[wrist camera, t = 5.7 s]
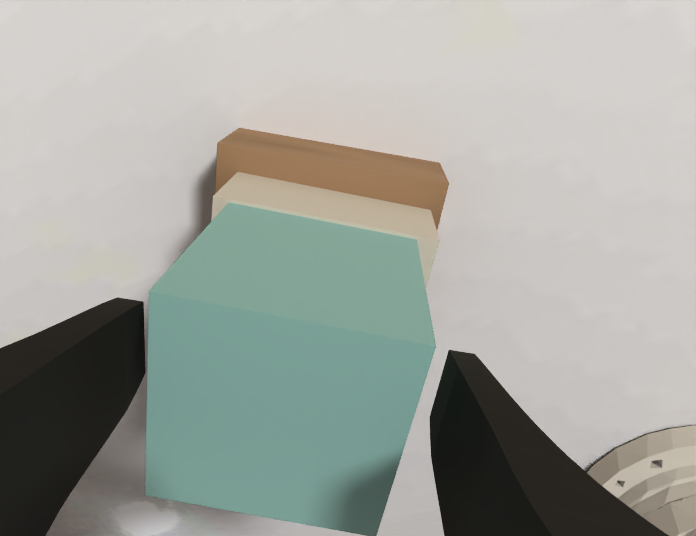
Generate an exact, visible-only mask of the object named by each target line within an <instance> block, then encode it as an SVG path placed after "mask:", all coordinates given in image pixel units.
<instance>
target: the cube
mask: <svg viewBox="0 0 696 536" xmlns="http://www.w3.org/2000/svg"><path fill="white" fill-rule="evenodd" d="M435 348H436V344H435V338H434V332H433V327H432V321H431V316H430V310H429V305H428V299H427V294H426V288H425V282H424V277H423V271H422V266H421V260H420V255H419V249H418V244H417V239H412V238H407V237H402V236H397V235H392V234H387V233H382V232H377V231H372V230H367V229H361V228H356V227H351V226H346V225H341V224H336V223H331V222H326V221H321V220H316V219H311V218H306V217H301V216H296V215H291V214H286V213H281V212H275V211H270V210H265V209H260V208H255V207H250V206H245V205H240V204H235V203H230V202H228V204H227V205H226V206H225V207H224V208H223V209H222V210H221V211H220V212H219V214H218V215H217V216H216V217H215V218H214V219H213V220H212V221H211V223H210V224H209V225H208V226H207V227H206V228H205V229H204V230H203V231H202V233H201V234H200V235H199V236H198V237H197V238H196V239H195V240H194V241H193V243H192V244H191V245H190V246H189V247H188V248H187V249H186V250H185V252H184V253H183V254H182V255H181V256H180V257H179V258H178V259H177V260H176V262H175V263H174V264H173V265H172V266H171V267H170V268H169V269H168V271H167V272H166V273H165V274H164V275H163V276H162V277H161V278H160V279H159V281H158V282H157V283H156V284H155V285H154V286H153V287H152V288H151V290H150V291H149V314H148V366H147V418H146V470H145V496H151V497H156V498H162V499H167V500H173V501H178V502H184V503H189V504H195V505H201V506H206V507H212V508H217V509H223V510H228V511H234V512H239V513H245V514H250V515H256V516H262V517H267V518H273V519H278V520H284V521H289V522H295V523H300V524H306V525H311V526H317V527H323V528H328V529H334V530H339V531H345V532H350V533H356V534H361V535H367V536H376V535H377V532H378V529H379V525H380V522H381V519H382V516H383V513H384V510H385V506H386V503H387V500H388V497H389V494H390V490H391V487H392V484H393V481H394V478H395V475H396V471H397V468H398V465H399V462H400V459H401V456H402V452H403V449H404V446H405V443H406V440H407V437H408V433H409V430H410V427H411V424H412V421H413V418H414V414H415V411H416V408H417V405H418V402H419V399H420V395H421V392H422V389H423V386H424V383H425V379H426V376H427V373H428V370H429V367H430V364H431V360H432V357H433V354H434V351H435Z"/></svg>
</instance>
